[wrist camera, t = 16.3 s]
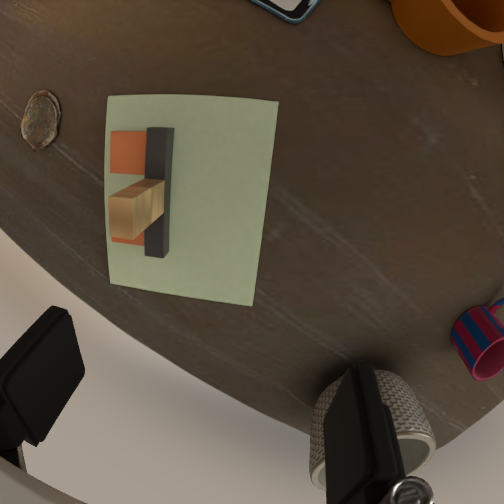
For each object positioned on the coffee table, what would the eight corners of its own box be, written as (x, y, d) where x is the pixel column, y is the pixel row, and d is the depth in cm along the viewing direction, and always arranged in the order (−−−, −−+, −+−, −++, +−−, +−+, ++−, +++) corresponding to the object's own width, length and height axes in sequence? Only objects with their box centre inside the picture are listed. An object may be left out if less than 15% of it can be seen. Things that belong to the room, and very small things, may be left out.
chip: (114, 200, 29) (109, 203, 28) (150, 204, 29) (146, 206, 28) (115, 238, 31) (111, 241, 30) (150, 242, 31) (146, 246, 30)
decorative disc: (72, 111, 26) (67, 112, 25) (45, 159, 28) (40, 161, 27) (40, 81, 24) (34, 81, 23) (16, 127, 26) (11, 128, 26)
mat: (109, 96, 25) (107, 95, 25) (278, 102, 25) (278, 101, 25) (111, 281, 33) (110, 283, 33) (252, 304, 33) (252, 306, 32)
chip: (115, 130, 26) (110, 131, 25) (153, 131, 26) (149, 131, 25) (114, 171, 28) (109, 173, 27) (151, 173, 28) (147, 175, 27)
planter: (354, 427, 41) (365, 499, 29) (283, 395, 38) (281, 481, 26) (426, 372, 36) (457, 446, 24) (360, 328, 33) (388, 419, 21)
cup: (441, 337, 33) (462, 373, 27) (491, 275, 29) (521, 304, 23) (466, 353, 34) (486, 386, 28) (512, 297, 30) (539, 325, 24)
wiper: (154, 126, 26) (108, 131, 18) (174, 127, 26) (135, 131, 18) (150, 248, 31) (113, 290, 23) (169, 251, 31) (136, 295, 23)
